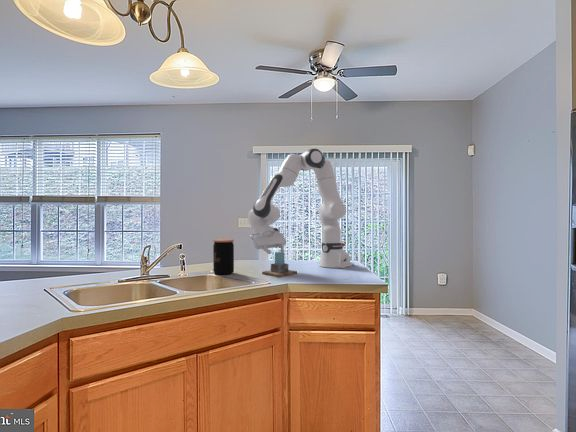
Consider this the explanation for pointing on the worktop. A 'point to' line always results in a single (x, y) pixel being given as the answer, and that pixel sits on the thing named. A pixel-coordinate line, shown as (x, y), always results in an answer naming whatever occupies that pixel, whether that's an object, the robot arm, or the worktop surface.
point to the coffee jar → (223, 256)
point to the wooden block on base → (279, 271)
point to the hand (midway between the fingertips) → (276, 252)
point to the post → (279, 258)
